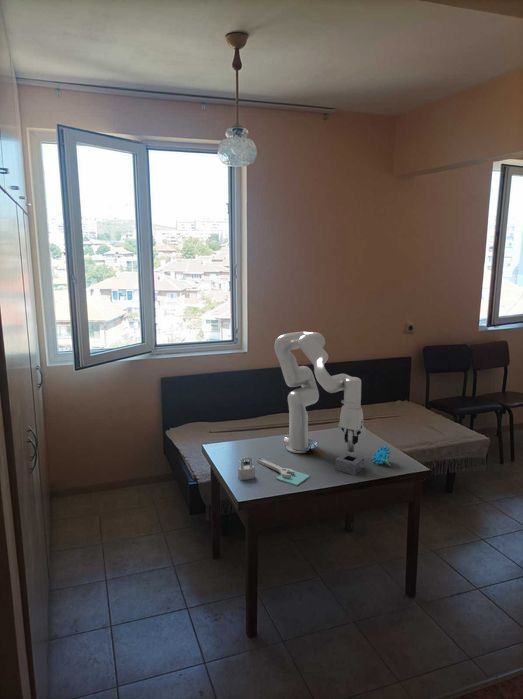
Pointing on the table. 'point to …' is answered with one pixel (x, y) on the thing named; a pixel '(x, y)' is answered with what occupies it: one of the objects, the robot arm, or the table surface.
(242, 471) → the padlock
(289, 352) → the robot arm
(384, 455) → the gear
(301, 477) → the mat
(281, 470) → the adjustable wrench
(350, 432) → the metal cylinder
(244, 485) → the table surface
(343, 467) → the block
